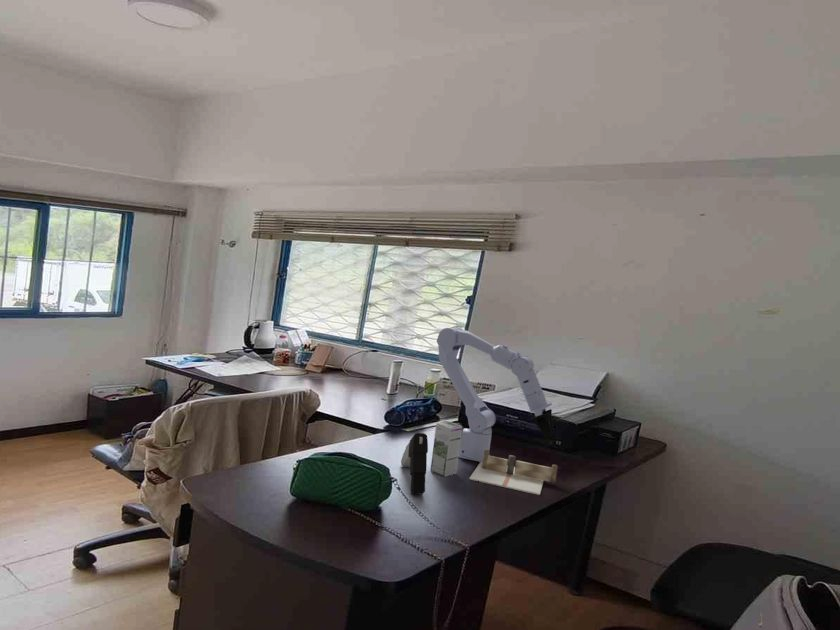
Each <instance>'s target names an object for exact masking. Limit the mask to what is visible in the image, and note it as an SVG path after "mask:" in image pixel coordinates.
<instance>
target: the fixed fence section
mask: <svg viewBox="0 0 840 630" xmlns="http://www.w3.org/2000/svg"><path fill="white" fill-rule="evenodd" d="M489 455H490V450H489V451H488V450H484V455H483V463H482V468H483V469H489V470H494V471H498V472H503V473H506V470H507V474H509V475H513V472H514V467H515V464H516V458H517V456H515V455H512V454H508V458H503V457H499V456H493V455H490V456H489ZM507 465H508V466H507Z"/></svg>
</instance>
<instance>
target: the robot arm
mask: <svg viewBox="0 0 840 630" xmlns="http://www.w3.org/2000/svg"><path fill="white" fill-rule="evenodd" d="M436 343H437V345H438V346H437V348H438V360H439V362H440V364H441V366H442V367H443V369H444V372H445V373H446V375H447V377H448V378H449V381H450V382H451V383H452V384H451V385H453V387H454V389H455V390H456V392H457V394H458V395H459V396H458V397H460V400H461V401H462V403H463V405H464V406H465V407H464V408H465V416H466V417H467V421H468V422H467V423H468V426H469V428H466V427H465V428H464V427H463V428H462V434H461V441H460V449H459V456H458V458H461V459H463V460H464V459H466V460H469V461H474V462H479V463H480V462H483V455H484V450H488V451H489V452H490V449H491V442H492V433H493V430H492V427H493V426H494V425H495V423H496V420H497V419H496V417H497V416H496V414H495V412H494V411H493V410H492V409H490V408H489V407H488V406H487V404H486V403H485V402H484V401H482V400H481V398H480V397H479V395H478V393H477V391H476V390H475V388H474V386H473V385H472V383H471V381H470V380H469V378H468V376H467V374H466V373H465V371H464V369H463V368H462V365H461V363H460V362H459V360H458V359H457V357H458V354H459V352H460V349H461V348H462V347H463V346H470V347H472V348H475V349H476V350H478V351H481V352H482V353H485V354H487V355H489V356H490V359H491V361H493V362H494V363H496V364H498V365H500V366H502V367H504V368H506V369H508V370H510V371H511V372H512V374H513V375H515V376H516V377H517V380H518V384H519V386H520V388H521V391H522V393H523V395H524V400H525V401H526V403H527V407H528V409H529V413H530V414H534V417H531V418H530V420H531V421H532V422H533V423H534V424H535V425H536V426H537V428H538V429H539V430H540V432H541V434H542V435H543V437H544V438H545V439H549V438H552V437H553V434H555V429H554V424H553V419H552V418H553V417H552V409H551V408H550V409H547V408H549V407H551V406H552V405H553V404H552V402H549V403H548V401H547V399H546V397H545V394H544V392H543V388H542V386H541V383H540V382H539V379H538V377H537V375H536V372H535V370H534V366H535V364H534V361H533V360H532V358H530V357H529V356H528V355H522V353H521V352H515V351H514V350H511V349H510V348H509V346H508V345H507V344H503V345H502V344H498V345H494V344H492V343H490V342H488V341H486V340H484V339H483V338H481V337H479V336H478V335H476V334H474V333H472V332H470V331H468V330H466V329H463V328H461V327H458V326H457V327H451V328H450V327H445V328H443V329H441V330H440V331H439V333H438V336H437V338H436ZM521 355H522V356H521ZM489 456H491V455H490V454H489Z"/></svg>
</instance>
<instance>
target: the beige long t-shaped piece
mask: <svg viewBox="0 0 840 630" xmlns="http://www.w3.org/2000/svg"><path fill="white" fill-rule="evenodd" d="M514 467H515V471H514V474H516V475H520V476H525V477H530V478H534V479H539V480H543V482H544V481H545V482H548V483H551V484H552V483H553V484H556V480H557V479H556V478H557V474H558V465H557V464H551V466H546V465H542V464H541V465H540V464H535V463H531V462H526V461H522V460H516V459H515V465H514Z"/></svg>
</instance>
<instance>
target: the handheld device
mask: <svg viewBox="0 0 840 630" xmlns="http://www.w3.org/2000/svg"><path fill="white" fill-rule="evenodd" d="M428 451H429V442H428V436H427V434H426V433H425V432H422V433H421V432H416V433H414V435H413V436H412V437H411V438H410V440H409V441H408V443H407V445H406V446H405V449H404V452H403V453H402V457H401V459H400V464H401V465H400V466H403V467H402V468H408V467H410V468H409V475H410V492H411V493H410V494H417V493H421V494H420V495H422V494H424V493H425V492H426V474H427V457H428V456H427V454H428V453H429V452H428Z"/></svg>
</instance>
